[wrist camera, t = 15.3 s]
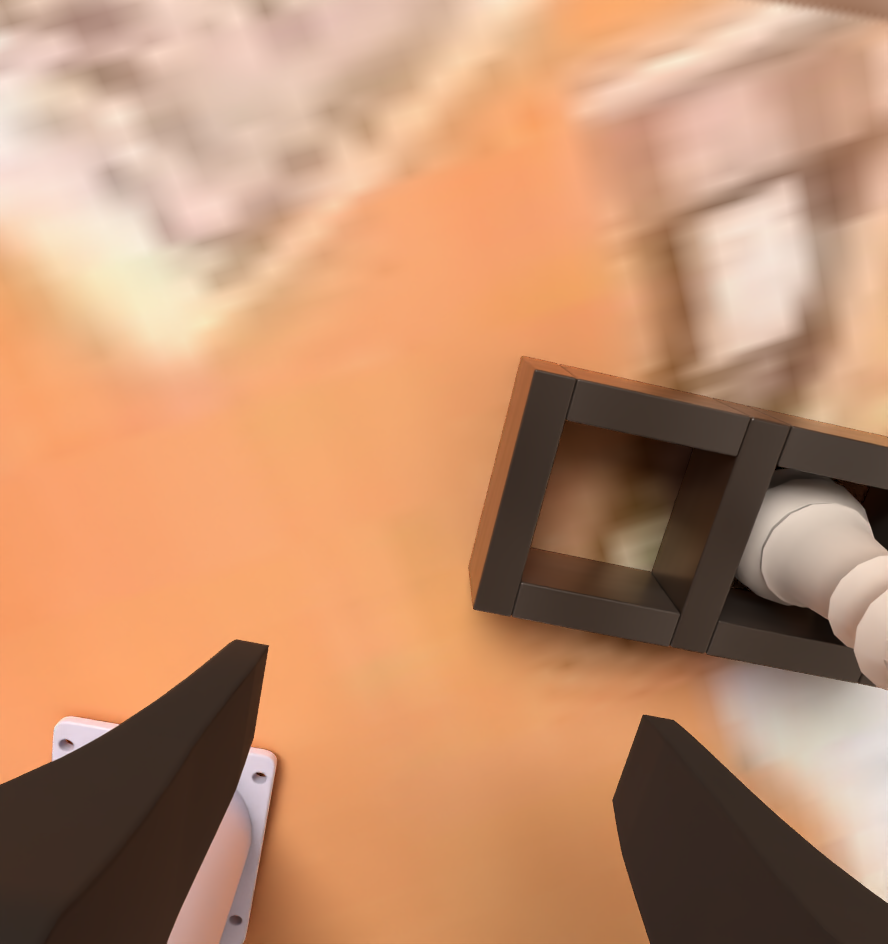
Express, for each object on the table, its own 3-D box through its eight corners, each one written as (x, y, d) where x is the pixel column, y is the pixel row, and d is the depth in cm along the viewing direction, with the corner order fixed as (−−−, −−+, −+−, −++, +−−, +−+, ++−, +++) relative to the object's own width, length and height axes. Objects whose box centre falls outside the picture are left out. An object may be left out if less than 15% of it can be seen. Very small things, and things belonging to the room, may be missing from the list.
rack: (924, 444, 22) (998, 471, 19) (838, 640, 24) (893, 691, 21) (521, 355, 21) (534, 368, 18) (468, 567, 23) (472, 610, 20)
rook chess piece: (867, 538, 23) (1086, 673, 15) (752, 609, 23) (906, 773, 16) (805, 436, 22) (1006, 527, 14) (687, 514, 22) (817, 641, 15)
